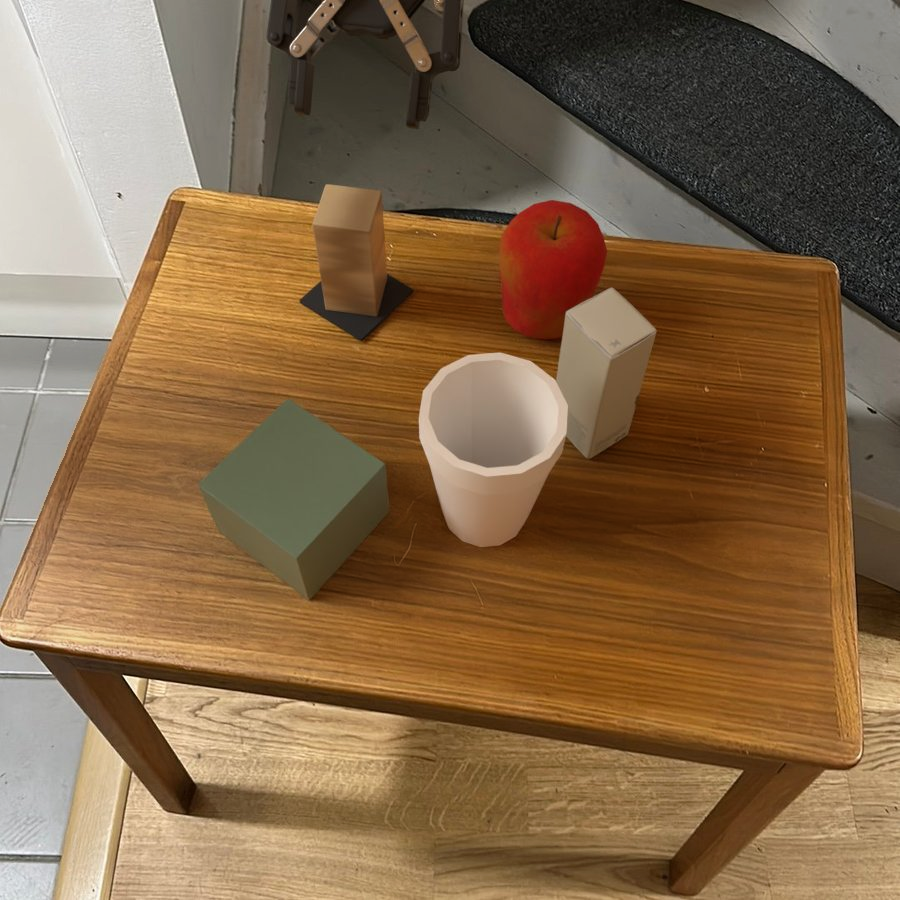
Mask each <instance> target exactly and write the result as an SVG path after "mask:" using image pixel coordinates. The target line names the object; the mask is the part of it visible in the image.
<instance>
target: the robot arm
mask: <svg viewBox="0 0 900 900" xmlns="http://www.w3.org/2000/svg"><path fill="white" fill-rule="evenodd" d="M425 2H426V0H321V2H320V4H319V5H318V6H317V8H316V9H315V10H314V11H313V13H312V14H311V15H310V16H309V17H308V19H307V21H306V23H305V26H304V27H303V28H302V29H301V31H300V32H298V34H297V35H296V37H293V36H294V35H293V34H294V26H295V19H296V12H297V5H298V0H270V5H269V14H268V21H267V29H266V40H267V43H269V44H270V45H271V46H273V47H274V48H276V49H277V50H279V51H280V52H282V53H284V54H286V55H287V56H288V58H289V71H288V72H289V74H288V84H287V85H288V87H287V98H288V103H289V104H290V105H292V106H294V112H295V113H296V114H298V115H300V116H311V113H312V103H313V101H312V100H313V89H314V80H315V79H314V78H315V77H314V76H315V64H314V63H312V61H313V59H315V57H316V56H317V55H318V54H319V52H321V50H322V49H323V48H324V47H325V45H327V44H329V43H330V42H331V41H332V40H333V39H334V38H335V37H336V36H337V35H338V33H339V32H340V31H342V32H343V33H345V34H346V35H347V36H352V37H362V36H367V35H369V36H371V37H374V38H375V39H378V40H389V39H390V38H393V37H395V36H397V35H398V38H399V39H400V41H401V43H402V45H403V47H404V48H405V50H406V52H407V53H408V55H409V57H410V59H411V60H412V62H413V64H414V72H410V80H409V81H410V82H409V91H408V100H407V110H406V120H405V123H406V124H405V125H406V127H407V128H408V129H412V130H413V129H414V130H419V128H420V123H421V122H422V123H423V122H424V123H425V122H427V121H428V118H429V116H430V108H431V100H432V92H433V91H432V90H433V83H434V79H435V78H436V77H437V76H438V75H440V74H442V73H446V72H456V71H457V70H458V69H459V68H460V66H461V53H462V38H463V24H464V23H463V22H464V6H465V5H464V4H465V0H433V6H434V8H435V10H436V12H437V13H439V14H440V15H442V23H441V40H440V42H441V43H440V51H436V52H433V53H429V52H428V50H427V48H426V46H425V44H424V43H423V41H422V39H421V37H420V35H419V33H418V31H417V29H416V27H415V26H414V24H413V22H412V21H411V18H412V17H413V16H414V15H415V14H416V12H418V10H419V9H420V8H421V6H422V5H423V4H425Z"/></svg>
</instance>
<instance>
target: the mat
mask: <svg viewBox="0 0 900 900" xmlns="http://www.w3.org/2000/svg"><path fill="white" fill-rule="evenodd" d="M414 292H415V290H414V288H412V287H411V286H410V285H407V284H406V283H403V282H402V281H401V280H399V279H397V278H395V277H394V276H392V275H391V274H388V273H387V281H386V285H385V289H384V292H383V296H382V300H381V304H380V308H379V311H378V315H377V317H375V316H368V315H360V314H353V313H346V312H338V311H331V310H326V308H325V302H324V295H323V289H322V283H321V280H320V281H319V282H318V283H317V284H316V285H314V286H313V287H312V288H311V289H310V290H309V291H308V292H307V293H306V294H305V295H303V296H302V297H301V298H300V299H299V304H301V305H302V306H304V307H305V308H307V309H308V310H310V311H312V312H314V314H317V315H318V316H320V317H321V318H322V319H324V320H326V321H328V322H329V323H331V324H332V325H334V326H336V327H337V328H339V329H340V330H342V331H343V332H345V333H347V334H348V335H350V336H352V337H353V338H355V339H356V340H358V341H359V342H362V343H363V342H364V341H365V340H366V339H367V338H368V337H369V336H370V335H371V334H372V333H373V332H374V331H375V330H376V329H378V327H379V326H380V325H382V324H383V323H384V322H385V321H386V320H387V319H388V317H390V316H391V315H392V314H393V313H394V312H395V311H396V310H397V309H398V308H399V307H401V305H402V304H403V303H404V302H405V301H406V300H407V299H408V298H409V297H410V296H411V295H412V294H413V293H414Z"/></svg>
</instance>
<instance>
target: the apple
mask: <svg viewBox="0 0 900 900" xmlns="http://www.w3.org/2000/svg"><path fill="white" fill-rule="evenodd" d="M604 237H605V236H604V235H603V233H602V230H601V227H600V225H599V223H598V222H597V221H596V219H595V218H594V217H592V215H591V214H590V213H589V212H588V211H587V210H585V209H583V208H581V207H579V206H577V205H576V204H574V203H572V202H567V201H561V200H555V199H550V200H546V201H540V202H536V203H533V204H532V205H530V206H528V207H527V208H525V209H523V210H521V211H520V212H519V213H517V214H516V216H514V217H513V218H512V219H511V220H510V222H509V223H508V225H507V226H506V227H505V229H504V230H503V231H502V233H501V234H500V241H499V247H498V248H499V249H498V269H499V275H500V276H499V277H500V283H501V309H502V312H503V318H504V320H505V321H506V322H507V323H508V325H509V326H510V327H511V328H512V329H513V331H516V332H517V333H520V334H521V335H523V336H525V337H527V338H532V339H538V340H539V339H541V340H553V339H562V336H563V329H564V321H565V314H566V311H568V310H570V309H571V308H573V307H575V306H577V305H579V304H580V303H582V302H584V301H586V300H588V299H590V298H592V297H593V296H594V294H595V291H596V289H597V287H598V284H599V282H600V280H601V277H602V274H603V272H604V268H605V265H606V260H607V255H608V248H607V244H606V241H605V238H604Z"/></svg>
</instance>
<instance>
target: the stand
mask: <svg viewBox="0 0 900 900" xmlns="http://www.w3.org/2000/svg"><path fill="white" fill-rule="evenodd" d="M197 487H198V489H199V492H200V495H201V497H202V498H203V501H204V503H205V505H206V508H207V510H208V512H209V514H210V516H211V519H212V521H213V523H214V525H215V527H216V529H217V532H218V533H220V534H221V535H222V536H223V537H225V538H226V539H227V540H229V541H230V542H231V543H232V544H234V545H235V546H236V547H238V548H239V549H241V550H242V551H243V552H245V553H246V554H247V555H249V556H250V557H251V558H252V559H253V560H254V561H256V562H258V563H259V564H260V565H261V566H262V567H264V568H266V569H267V570H268V571H270V572H271V573H272V574H273V575H274V576H276V577H277V578H279V579H280V580H281V581H282V582H283V583H285V584H286V585H287V586H289V587H290V588H292V589H293V591H296V592H297V593H298V594H299V595H301V596H302V597H303V598H305V599H306V600H307V601H310V600H312V598H314V596H315V595H316V594H317V593H318V592H319V590H321V588H322V587H323V586H324V585H325V584H326V583H327V582H328V581H329V580H330V578H331V577H333V576H334V574H335V573H336V572H337V571H338V570H339V569H340V567H341V566H343V564H345V562H346V561H347V559H348V558H350V556H351V555H352V554H353V553H354V552H355V551H356V550H357V549H358V547H359V546H361V544H362V543H363V542H364V540H366V539H367V538H368V536H369V535H371V533H372V532H373V531H374V530H375V528H377V526H378V525H379V524H380V523H381V522H382V521H383V520H384V519H385V518H386V516H387V515H388V514H389V513H390V500H389V490H388V489H389V488H388V479H387V468H386V463H385V462H384V461H382V460H381V459H380V458H377V457H376V456H375V455H373V454H371V453H370V452H368V451H367V450H366V449H364V448H363V447H361V446H360V445H358V444H357V443H355V442H354V441H353V440H351V439H350V438H348V437H346V436H345V435H343V434H342V433H341V432H340V431H338V430H337V429H335V428H334V427H332V426H330V425H329V424H327V423H326V422H324V421H323V420H321V419H320V418H318V417H317V416H316V415H314V414H313V413H311V412H309V410H307V409H305V408H304V407H302V406H301V405H300V404H298V403H296V402H295V401H294V400H291V398H290V397H287V398H286V399H285V400H284V401H283V402H282V403H281V404H280V405H279V406H278V407H276V408H275V409H274V411H273V412H271V413H270V414H269V415H268V416H267V417H266V418H265V419H264V420H263V421H262V422H261V423H260V424H259V425H258V426H257V427H256V428H255V429H253V430H252V432H251V433H249V434H248V435H247V436H246V437H245V438H244V439H243V440H242V441H241V442H240V443H239V444H238V445H237V446H236V447H235V448H233V449H232V451H230V452H229V453H228V454H227V455H226V456H225V458H223V459H222V460H221V461H220V462H219V463H218V464H216V466H215V467H214V468H213V469H212V470H211V471H209V472H208V473H207V474H206V475H205V477H203V478H202V479H201V480H200V481H199V482H198V483H197Z"/></svg>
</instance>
